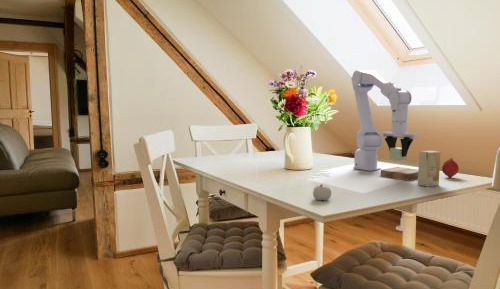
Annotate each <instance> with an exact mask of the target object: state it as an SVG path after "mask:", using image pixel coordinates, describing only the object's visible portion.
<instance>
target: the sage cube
mask: <svg viewBox="0 0 500 289" xmlns="http://www.w3.org/2000/svg"><path fill="white" fill-rule="evenodd" d="M389 160H393V161H406V160H407V155H406V156H405V157H402V147H396V146H395V148H390V151H389Z"/></svg>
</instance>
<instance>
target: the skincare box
mask: <svg viewBox="0 0 500 289" xmlns="http://www.w3.org/2000/svg"><path fill="white" fill-rule="evenodd" d="M418 153H419V154H418V169H417V170H418V178H417V185H419V186H423V187H427V188H429V187H435V186H439V185H440V184H439V183H440V168H441V166H440V165H441V154H442V153H441V151H438V150H437V151H436V150H421V151H419V152H418Z"/></svg>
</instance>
